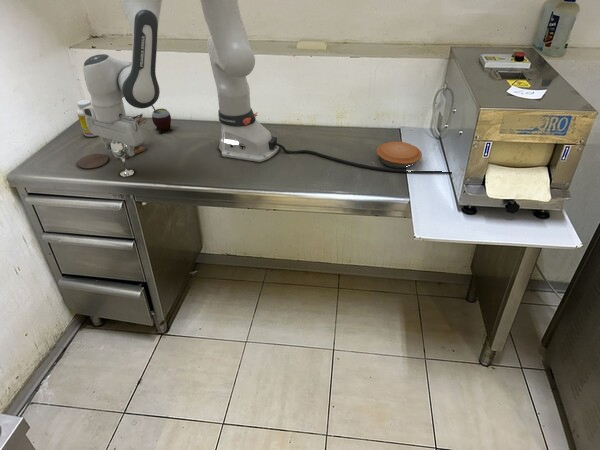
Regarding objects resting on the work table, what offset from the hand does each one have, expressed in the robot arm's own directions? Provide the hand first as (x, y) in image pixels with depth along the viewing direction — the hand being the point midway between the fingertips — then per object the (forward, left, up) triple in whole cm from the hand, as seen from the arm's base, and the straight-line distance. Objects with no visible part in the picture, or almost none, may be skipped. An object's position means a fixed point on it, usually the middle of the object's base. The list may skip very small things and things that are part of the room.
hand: (120, 151), depth 142 cm
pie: (-78, -51, -8) cm, 94 cm away
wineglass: (0, 0, -8) cm, 8 cm away
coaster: (+16, 0, -8) cm, 18 cm away
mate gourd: (+12, -31, -8) cm, 34 cm away
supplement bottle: (+34, -16, -8) cm, 38 cm away
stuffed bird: (+11, -12, -8) cm, 18 cm away
